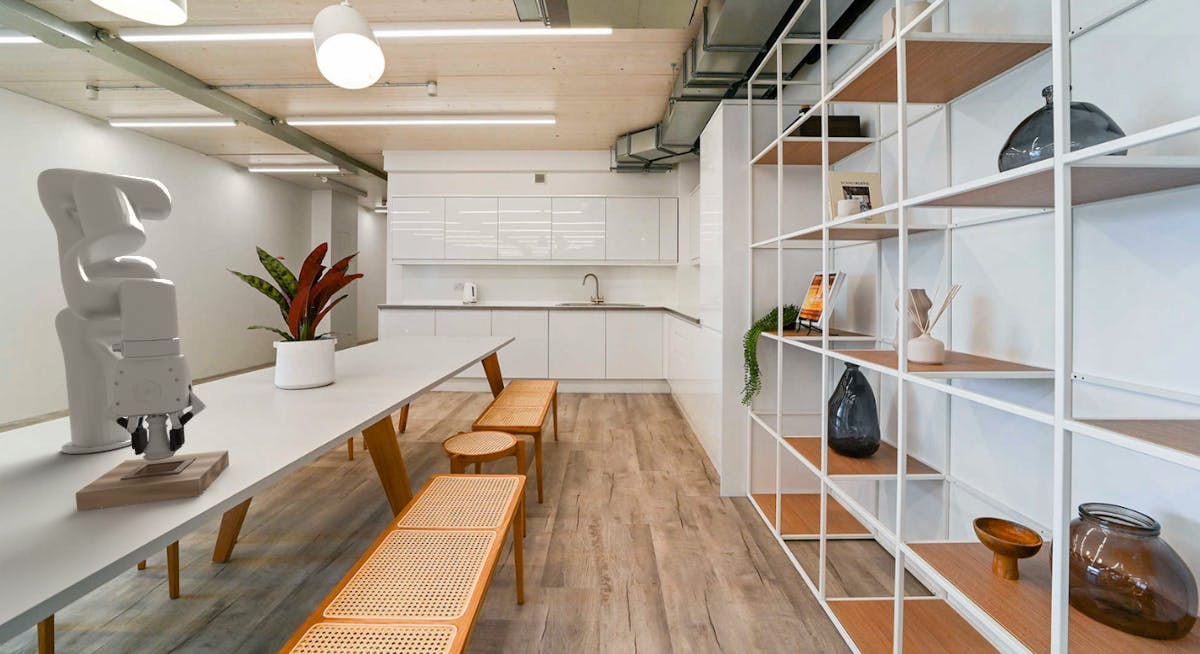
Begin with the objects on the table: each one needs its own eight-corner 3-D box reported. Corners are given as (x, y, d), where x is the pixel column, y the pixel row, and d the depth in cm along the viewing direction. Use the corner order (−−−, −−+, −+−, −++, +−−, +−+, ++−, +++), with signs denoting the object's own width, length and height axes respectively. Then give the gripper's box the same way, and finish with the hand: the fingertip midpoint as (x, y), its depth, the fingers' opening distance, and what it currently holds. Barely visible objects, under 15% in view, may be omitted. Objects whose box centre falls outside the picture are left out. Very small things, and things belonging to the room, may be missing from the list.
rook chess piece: (156, 462, 87) (153, 416, 87) (136, 460, 88) (132, 415, 88) (182, 453, 92) (179, 410, 91) (162, 452, 93) (159, 409, 92)
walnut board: (127, 475, 95) (125, 458, 95) (229, 464, 101) (228, 448, 101) (77, 511, 80) (75, 491, 80) (199, 495, 86) (198, 477, 86)
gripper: (76, 354, 82) (85, 464, 83) (202, 349, 88) (209, 451, 90) (101, 349, 89) (109, 450, 90) (217, 345, 95) (222, 439, 96)
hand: (159, 449), depth 90 cm, fingers closed on rook chess piece, 4 cm apart
